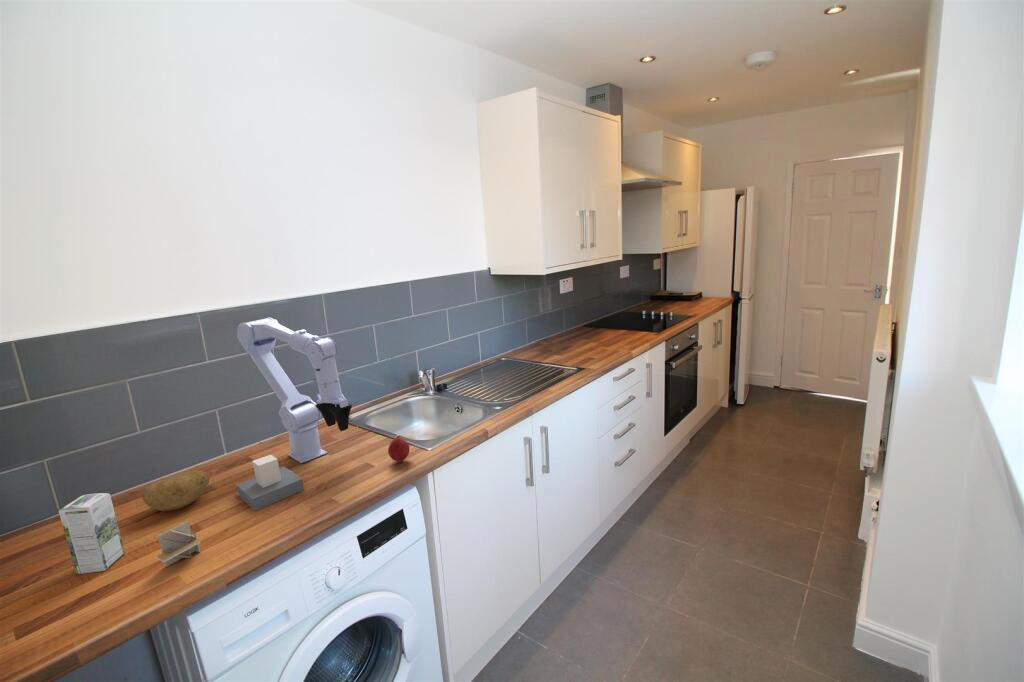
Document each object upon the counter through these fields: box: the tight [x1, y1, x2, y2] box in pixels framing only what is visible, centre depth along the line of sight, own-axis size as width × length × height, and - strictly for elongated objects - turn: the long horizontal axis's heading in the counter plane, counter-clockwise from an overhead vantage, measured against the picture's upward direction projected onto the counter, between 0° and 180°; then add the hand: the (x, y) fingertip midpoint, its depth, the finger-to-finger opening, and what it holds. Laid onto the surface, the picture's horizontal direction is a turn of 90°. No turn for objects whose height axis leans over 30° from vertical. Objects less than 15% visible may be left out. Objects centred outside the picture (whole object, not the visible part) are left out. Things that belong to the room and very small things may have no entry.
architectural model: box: [155, 520, 201, 568], centre depth 96 cm, size 3×7×7 cm, turn 149°
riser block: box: [235, 465, 305, 511], centre depth 122 cm, size 12×12×3 cm
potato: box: [142, 470, 211, 512], centre depth 119 cm, size 10×14×8 cm
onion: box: [387, 434, 410, 463], centre depth 133 cm, size 6×6×8 cm
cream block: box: [251, 454, 282, 488], centre depth 122 cm, size 4×4×6 cm
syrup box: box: [58, 492, 125, 575], centre depth 97 cm, size 6×6×14 cm
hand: (337, 427), depth 135 cm, fingers open, 7 cm apart
